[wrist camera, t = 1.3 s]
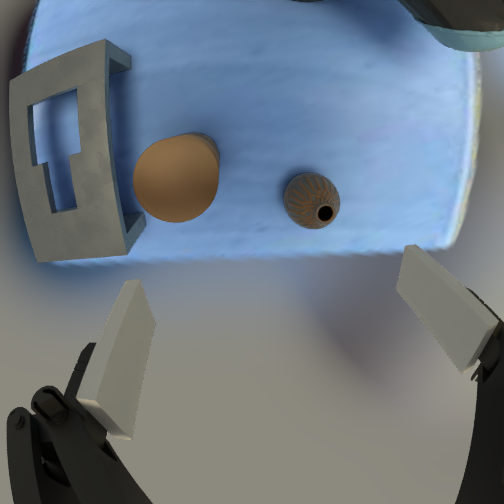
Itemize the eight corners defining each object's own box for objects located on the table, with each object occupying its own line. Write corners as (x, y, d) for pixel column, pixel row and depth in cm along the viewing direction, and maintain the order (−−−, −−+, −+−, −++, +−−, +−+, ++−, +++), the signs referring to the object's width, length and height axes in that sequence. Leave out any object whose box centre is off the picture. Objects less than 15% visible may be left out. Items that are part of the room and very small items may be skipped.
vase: (273, 212, 37) (287, 237, 29) (286, 163, 34) (305, 175, 27) (318, 221, 39) (342, 247, 31) (332, 175, 36) (361, 191, 28)
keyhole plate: (46, 83, 24) (9, 80, 16) (131, 56, 25) (105, 38, 17) (66, 235, 35) (37, 262, 27) (146, 225, 36) (127, 255, 28)
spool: (171, 134, 31) (128, 144, 16) (218, 130, 32) (215, 133, 16) (175, 179, 34) (139, 226, 19) (221, 175, 34) (221, 218, 19)
